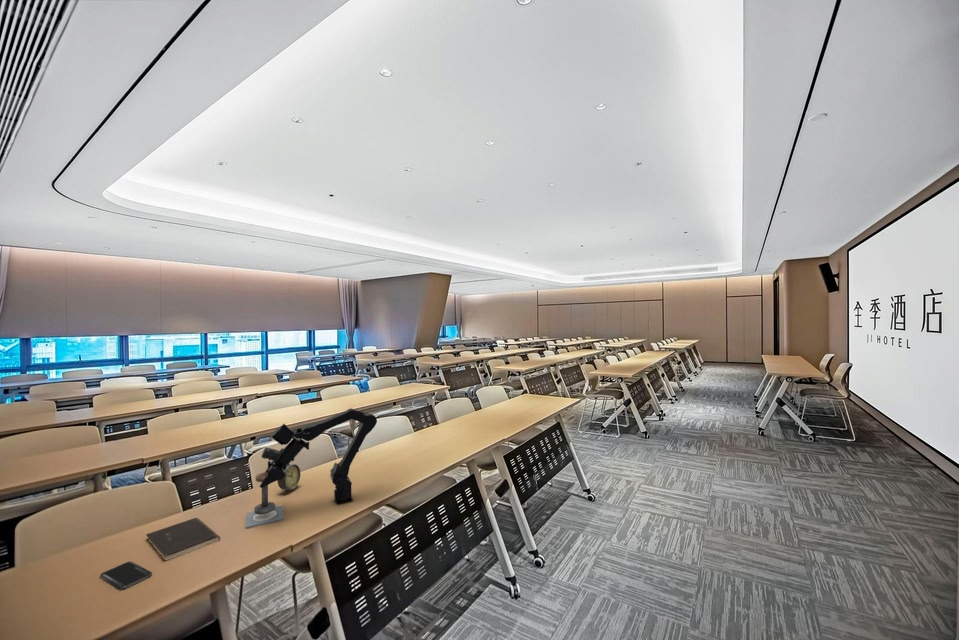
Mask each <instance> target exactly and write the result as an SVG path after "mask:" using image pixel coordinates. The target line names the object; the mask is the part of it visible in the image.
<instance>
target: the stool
mask: <svg viewBox="0 0 959 640" xmlns="http://www.w3.org/2000/svg"><path fill="white" fill-rule="evenodd" d="M267 475H268V472H265V471H264V472H260V473H258V474H256V475H255V481H256V482H257V483H262V482H263V480H264V479H265V477H266V476H267ZM275 507H276V504H275V502H272V501H269V485H267V486H265V487H263V488H261V503H260V504H256V506H254V508H253V509H254V510H253V512H254V513H255V514H266V513H269V512H272V511H273V510H274V509H275Z"/></svg>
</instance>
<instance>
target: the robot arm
mask: <svg viewBox="0 0 959 640" xmlns="http://www.w3.org/2000/svg"><path fill="white" fill-rule="evenodd" d="M350 420H354V421H356V422H359V423H358V426H357V427H358V428H357V431H356V433H355V435H354V436H353V438H352V440H351V442H350V444H349V446H348V447H347V450H346V452H345V453H344V455H343V457H342V458H341V460H340V461H339V462H338V463H337V462H334V464H333V466H332V468H331V469H330V474H329V476H330V479H331V482H332V484H333V485H334V488H335V489H334V490H333V500H334V502H335V503H336V504H337V505H340V504H345V503H349V502H352V501H354V500H353V498H352V497H353V496H352V485H353V483H352V481H351V479H350V477H349V472H350V468H351V465H352V463H353V460H354V459H355V457H356V455H357V453H358V452H359V451H360V448H361V446H362V444H363V442H364V441H365V438H366V437H367V435H368V434H369V433H371V432H372V430H373V429H374V428H375V426H376V425H377V424H378V423H377V422H378V420H377V417H376V416H375V415H374V414H373V413H371V412H363V411H359V410H356V409H354V408H350V407H349V408H348V409H346V410H345V411H342V412H339V413H338V414H336V415H333V416H331V417H328V418H326V419H324V420H320V421H315V422H310V423H307V424H304V425H303V426H302V427H300V428H296V429H292V428H290V427H288V425H287V424H285V423H282V425H280V426H279V427H277V428H276V429H275V430H274V431H273V432H272V433H271V435H270V438H271V439H273V440H274V441H275V442H277V443H278V444H279V445H281V446H283V445H285V447H284V448H281V449H280V450H278V449H275V448H271V447H267V446H266V447H264V449H263V452H262V453H261V458H262V459H267V460H268V461H267V468H266V469H265V471H264V472H268V475H267V476H266V477H265V479H264V480H263V482H260V485H259V488H261V489H262V488H263V487H265V486H267V485H268V486H269V485H271V484H272V483H274V482H277V480H282V479H283V478H284V477H285V470H286V468H287V466H288V464H291V463H292V462H294V461H295V458H296V457H297V456H298V455H299V454H300V452H301V451H302V450H304V448H305V450H307V451H308V450H310V441H313V440H315V439H316V438H317V437H319V436H320V435H321V434H322V433H324V432H326V431H328V430H329V429H333V428H334V427H336V426H339V425H341V424H343V423H345V422H348V421H350ZM282 468H283V469H282Z"/></svg>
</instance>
